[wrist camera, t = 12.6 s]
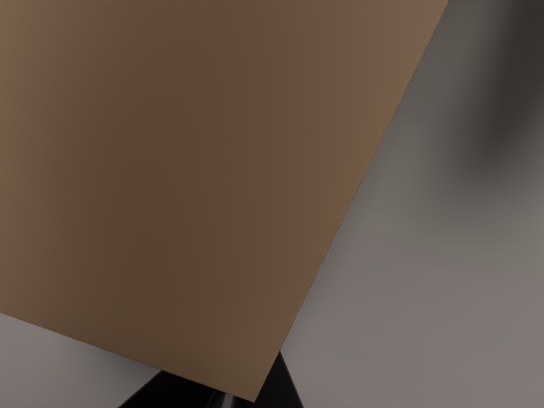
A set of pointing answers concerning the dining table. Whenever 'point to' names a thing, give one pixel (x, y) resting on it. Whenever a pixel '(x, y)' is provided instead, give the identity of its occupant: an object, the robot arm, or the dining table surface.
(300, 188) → the block
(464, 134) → the dining table surface
